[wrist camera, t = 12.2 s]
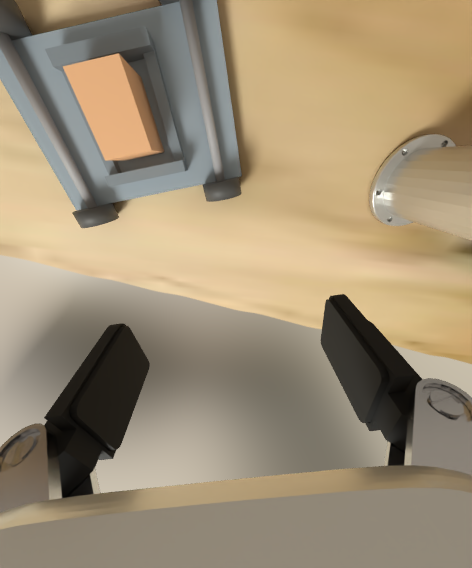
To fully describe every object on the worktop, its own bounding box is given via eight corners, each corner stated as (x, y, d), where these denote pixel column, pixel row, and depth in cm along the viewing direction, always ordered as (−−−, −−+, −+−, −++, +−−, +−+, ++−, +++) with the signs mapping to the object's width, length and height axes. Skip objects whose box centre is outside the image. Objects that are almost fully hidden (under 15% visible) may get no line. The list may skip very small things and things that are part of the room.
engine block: (141, 77, 22) (118, 53, 17) (164, 152, 26) (151, 150, 21) (97, 87, 22) (62, 66, 17) (127, 160, 26) (105, 160, 21)
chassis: (211, -29, 20) (209, -81, 16) (242, 190, 30) (247, 195, 26) (-20, 25, 20) (-83, -10, 16) (89, 221, 31) (69, 231, 27)
